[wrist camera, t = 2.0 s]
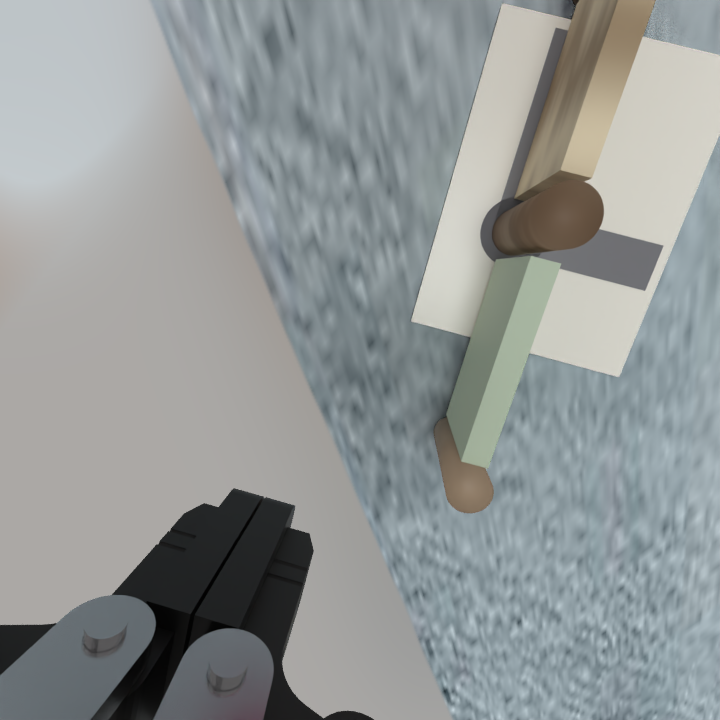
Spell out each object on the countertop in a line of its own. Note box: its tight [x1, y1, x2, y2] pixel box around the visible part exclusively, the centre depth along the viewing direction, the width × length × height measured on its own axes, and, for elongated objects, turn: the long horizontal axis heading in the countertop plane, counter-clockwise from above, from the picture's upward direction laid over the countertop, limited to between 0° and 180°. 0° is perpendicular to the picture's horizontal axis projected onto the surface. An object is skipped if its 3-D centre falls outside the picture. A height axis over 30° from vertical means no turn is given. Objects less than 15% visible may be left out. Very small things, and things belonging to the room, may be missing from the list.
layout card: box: [411, 3, 720, 377], centre depth 22 cm, size 16×12×1 cm
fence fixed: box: [492, 0, 656, 256], centre depth 18 cm, size 14×2×8 cm, turn 165°
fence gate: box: [434, 256, 561, 513], centre depth 20 cm, size 11×2×7 cm, turn 166°
